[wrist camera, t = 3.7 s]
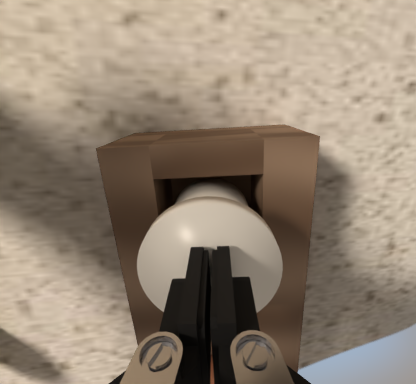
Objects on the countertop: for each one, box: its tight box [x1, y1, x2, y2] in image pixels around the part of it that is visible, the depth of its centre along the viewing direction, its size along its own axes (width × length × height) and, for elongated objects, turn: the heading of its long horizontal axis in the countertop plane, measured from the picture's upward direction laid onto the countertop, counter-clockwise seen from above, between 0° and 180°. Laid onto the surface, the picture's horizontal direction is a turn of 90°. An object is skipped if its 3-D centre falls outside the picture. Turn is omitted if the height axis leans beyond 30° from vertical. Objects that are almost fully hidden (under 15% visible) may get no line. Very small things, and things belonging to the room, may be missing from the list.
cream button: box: [137, 178, 283, 312], centre depth 14 cm, size 6×6×6 cm
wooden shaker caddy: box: [96, 125, 320, 372], centre depth 21 cm, size 24×12×7 cm, turn 3°
